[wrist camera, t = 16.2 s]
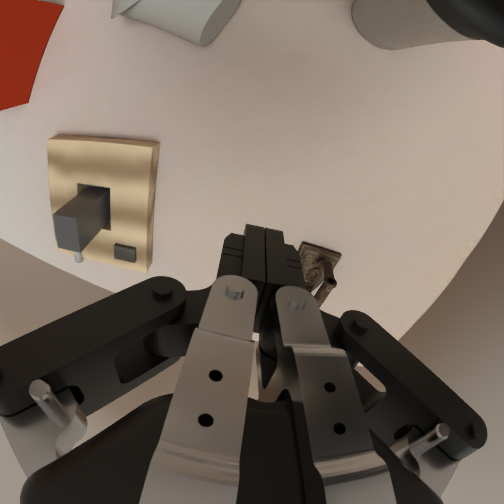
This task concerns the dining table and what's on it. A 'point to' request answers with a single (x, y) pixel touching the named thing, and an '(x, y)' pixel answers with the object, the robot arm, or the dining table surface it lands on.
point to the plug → (82, 219)
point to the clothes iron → (318, 269)
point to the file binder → (23, 46)
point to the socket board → (121, 192)
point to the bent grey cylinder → (180, 16)
